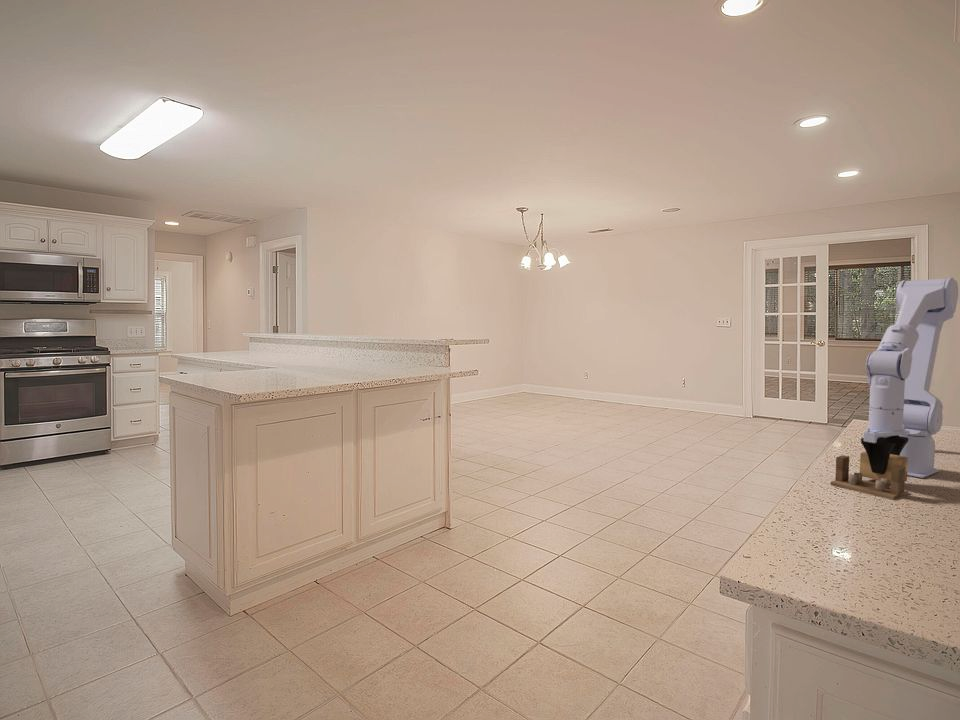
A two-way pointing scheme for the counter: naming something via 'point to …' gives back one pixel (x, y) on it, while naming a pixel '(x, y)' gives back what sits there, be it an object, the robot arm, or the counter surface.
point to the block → (892, 462)
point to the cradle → (868, 487)
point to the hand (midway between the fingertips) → (883, 471)
